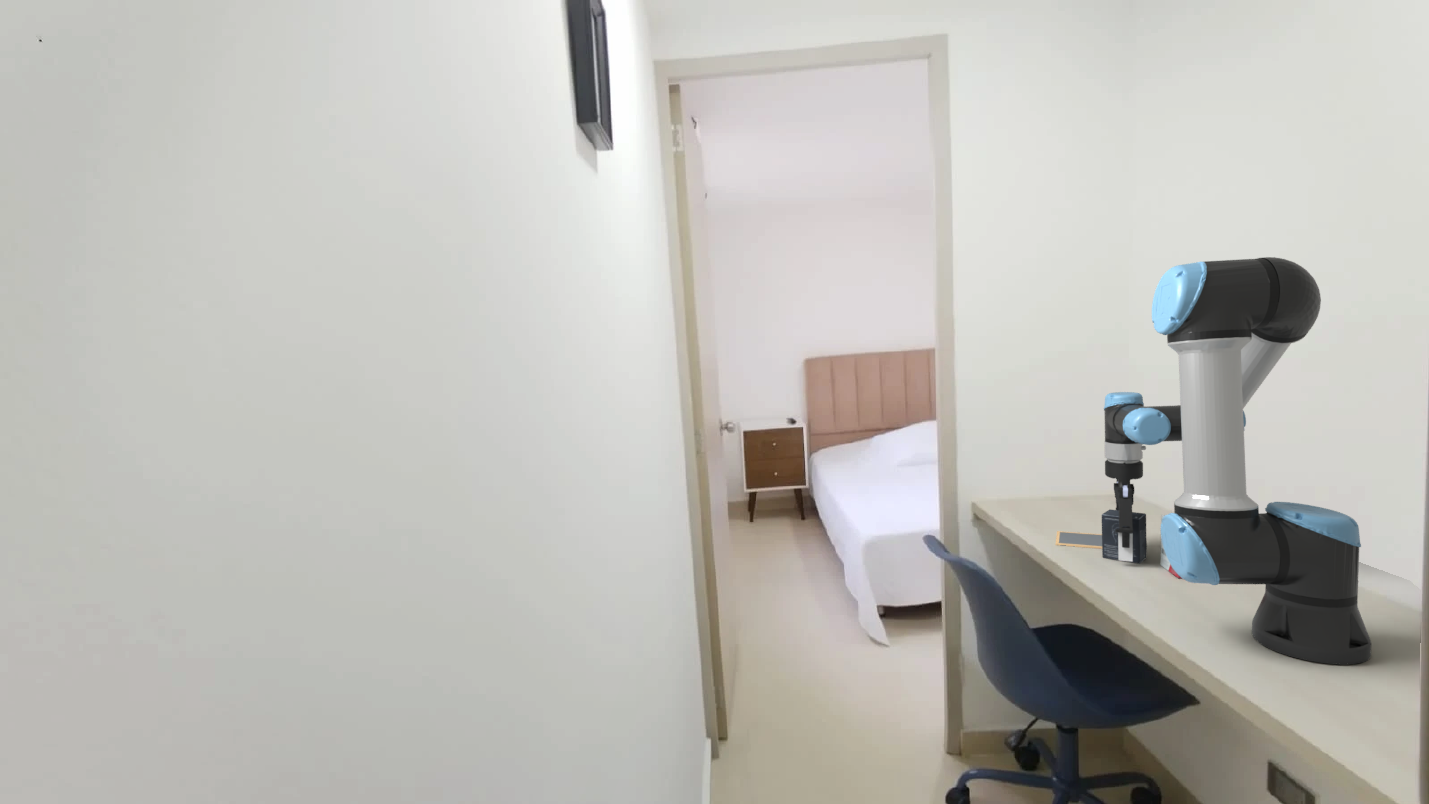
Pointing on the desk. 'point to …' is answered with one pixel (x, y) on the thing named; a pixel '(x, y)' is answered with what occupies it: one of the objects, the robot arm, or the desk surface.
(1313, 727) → the desk surface
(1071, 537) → the mat
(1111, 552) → the box
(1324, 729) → the desk surface
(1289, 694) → the desk surface
